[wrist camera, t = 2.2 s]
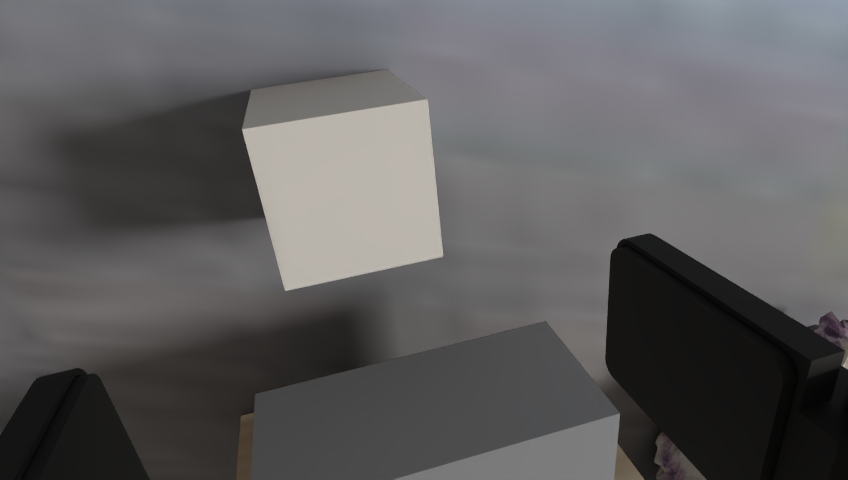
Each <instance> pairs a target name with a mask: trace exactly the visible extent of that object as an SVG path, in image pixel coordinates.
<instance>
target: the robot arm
mask: <svg viewBox="0 0 848 480" xmlns="http://www.w3.org/2000/svg"><path fill="white" fill-rule="evenodd" d="M844 354H845V350H844V349H842V348H840V347H839V346H837V345H835V344H834V343H832V342H830V341H829V340H827V339H825V338H824V337H822V336H820V335H819V334H817V333H816V332H814V331H812V330H811V329H809V328H807V327H806V326H804V325H802V324H801V323H799V322H797V321H796V320H794V319H792V318H791V317H789V316H787V315H786V314H784V313H782V312H781V311H779V310H777V309H776V308H774V307H772V306H771V305H769V304H768V303H766V302H764V301H763V300H761V299H759V298H758V297H756V296H754V295H753V294H751V293H749V292H748V291H746V290H744V289H743V288H741V287H739V286H738V285H736V284H734V283H733V282H731V281H729V280H728V279H726V278H725V277H723V276H721V275H720V274H718V273H716V272H715V271H713V270H711V269H710V268H708V267H706V266H705V265H703V264H701V263H700V262H698V261H696V260H695V259H693V258H691V257H690V256H688V255H686V254H685V253H683V252H682V251H680V250H678V249H677V248H675V247H673V246H672V245H670V244H668V243H667V242H665V241H663V240H662V239H660V238H658V237H657V236H655V235H653V234H644V235H640V236H635V237H631V238H627V239H623V240H621V241H620V242H619V243H618V245H617V248H616V249H614V250H613V251H612V253H611V258H610V277H609V297H608V317H607V336H606V356H605V358H606V365H607V368H608V370H609V372H610V374H611V375H612V377H613V378H614V379H615V380H616V381H617V382H618V383H619V385H620V386H621V387H622V388H623V389H624V390H625V391H626V392H627V393H628V394H629V395H630V397H631V398H632V399H633V400H634V401H635V402H636V403H637V404H638V405H639V406H640V407H641V409H642V410H643V411H644V412H645V413H646V414H647V415H648V416H649V417H650V418H651V420H652V421H653V422H654V423H655V424H656V425H657V426H658V427H659V428H660V429H661V430H662V432H663V433H664V434H665V435H666V436H667V437H668V438H669V439H670V440H671V441H672V442H673V444H674V445H675V446H676V447H677V448H678V449H679V450H680V451H681V452H682V453H683V454H684V456H685V457H686V458H687V459H688V460H689V461H690V462H691V463H692V464H693V465H694V466H695V468H696V469H697V470H698V471H699V472H700V473H701V474H702V475H703V476H704V477H705V479H706V480H848V369H846V368H845V367H843V366H841V364H842V361H843V358H844ZM0 480H150V479H149V477H148V475H147V473H146V471H145V469H144V467H143V465H142V463H141V461H140V459H139V457H138V455H137V453H136V451H135V449H134V447H133V445H132V442H131V440H130V438H129V436H128V434H127V432H126V430H125V428H124V426H123V424H122V422H121V420H120V418H119V416H118V414H117V412H116V410H115V408H114V406H113V404H112V402H111V399H110V397H109V395H108V393H107V391H106V389H105V387H104V385H103V383H102V381H101V379H100V378H99V376H97V375H96V374H89V375H87V373H86V372H85V371H84V370H82V369H80V368H76V369H72V370H67V371H63V372H59V373H55V374H50V375H46V376H42V377H39V378H37V379H36V380H35V381H34V382H33V384H32V385H31V387H30V389H29V390H28V392H27V393H26V395H25V397H24V398H23V400H22V401H21V403H20V405H19V406H18V408H17V409H16V411H15V413H14V414H13V416H12V417H11V419H10V421H9V422H8V424H7V425H6V427H5V429H4V430H3V432H2V433H1V435H0Z"/></svg>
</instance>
